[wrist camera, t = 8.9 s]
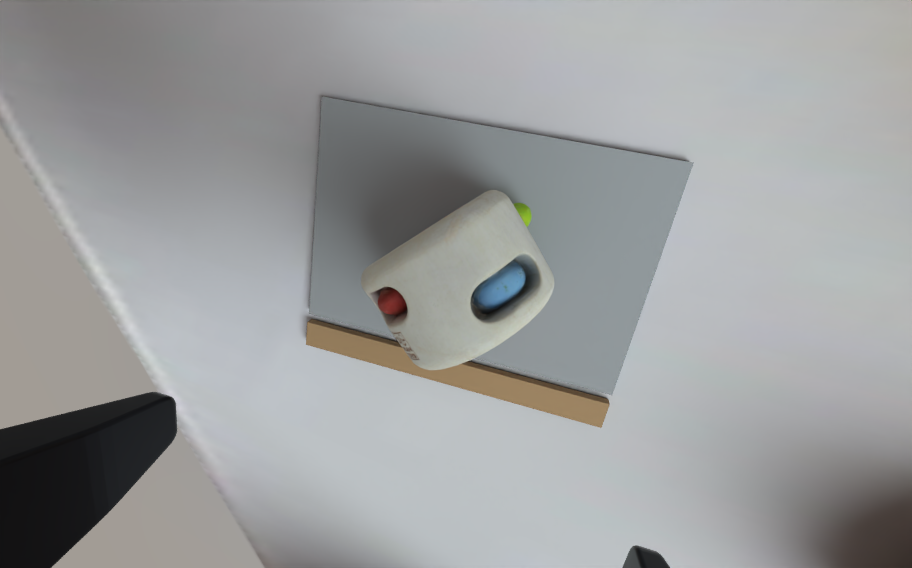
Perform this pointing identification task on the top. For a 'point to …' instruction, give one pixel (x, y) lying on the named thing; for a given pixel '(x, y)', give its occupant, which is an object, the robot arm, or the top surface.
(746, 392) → the top surface
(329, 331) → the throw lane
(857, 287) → the top surface
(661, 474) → the top surface
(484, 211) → the roller toy
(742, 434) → the top surface
